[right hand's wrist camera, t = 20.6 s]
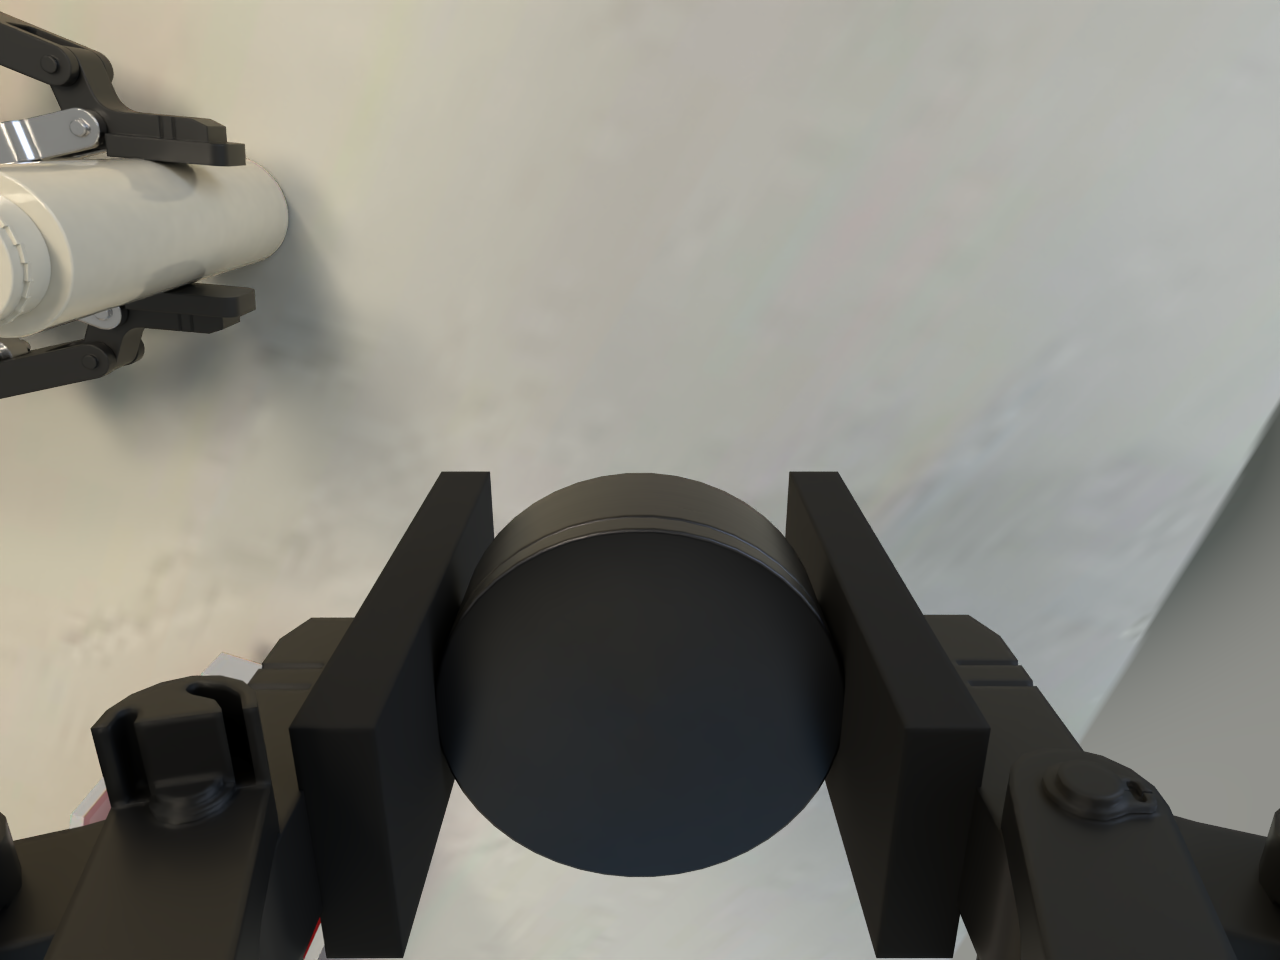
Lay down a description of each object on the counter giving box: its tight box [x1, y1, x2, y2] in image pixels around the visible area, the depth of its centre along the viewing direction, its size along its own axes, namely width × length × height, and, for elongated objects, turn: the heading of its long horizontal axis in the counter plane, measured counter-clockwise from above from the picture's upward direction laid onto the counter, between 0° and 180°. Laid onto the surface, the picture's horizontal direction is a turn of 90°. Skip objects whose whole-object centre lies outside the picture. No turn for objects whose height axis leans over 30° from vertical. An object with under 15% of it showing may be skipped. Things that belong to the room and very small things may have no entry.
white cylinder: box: [0, 158, 288, 338], centre depth 29 cm, size 4×4×16 cm
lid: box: [435, 473, 845, 877], centre depth 11 cm, size 5×5×2 cm
